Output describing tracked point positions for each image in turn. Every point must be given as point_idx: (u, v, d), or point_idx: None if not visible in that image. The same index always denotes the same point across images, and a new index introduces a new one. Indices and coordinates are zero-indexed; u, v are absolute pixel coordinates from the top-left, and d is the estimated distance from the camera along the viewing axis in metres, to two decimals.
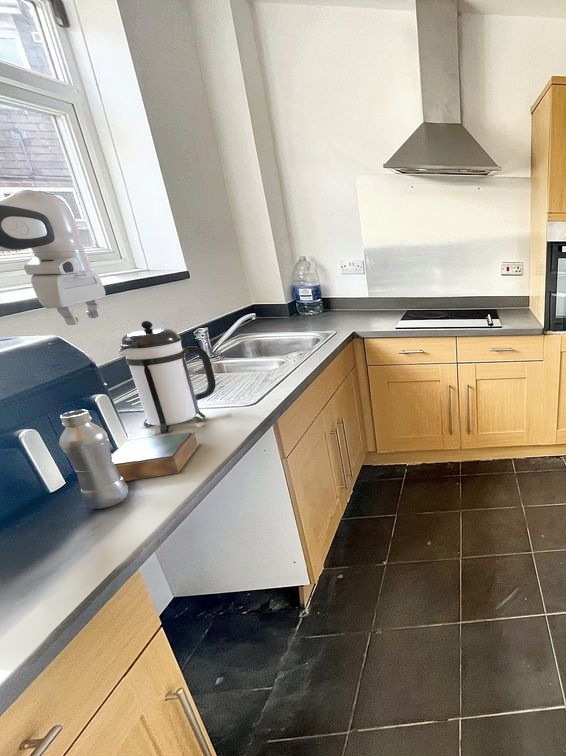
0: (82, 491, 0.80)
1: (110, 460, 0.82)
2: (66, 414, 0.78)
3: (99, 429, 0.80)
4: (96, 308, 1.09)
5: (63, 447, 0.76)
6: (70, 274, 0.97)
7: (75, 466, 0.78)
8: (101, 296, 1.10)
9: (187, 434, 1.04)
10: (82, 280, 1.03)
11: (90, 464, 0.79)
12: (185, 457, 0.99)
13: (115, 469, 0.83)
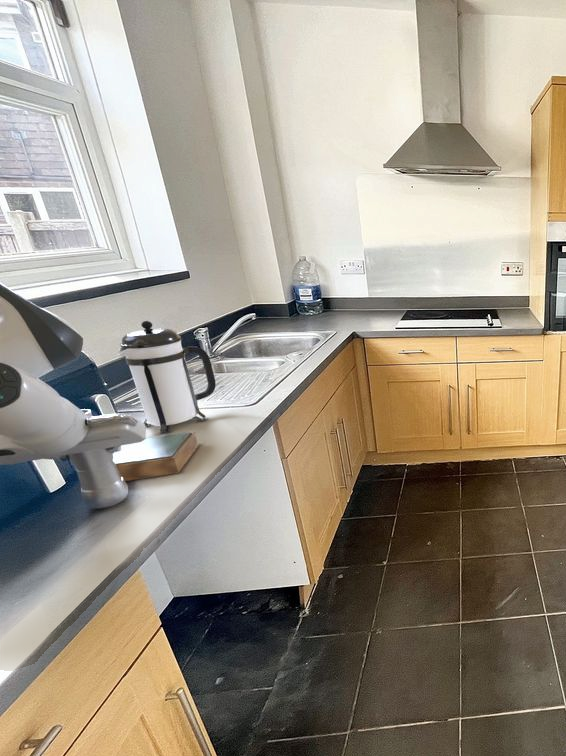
0: (82, 491, 0.80)
1: (111, 460, 0.82)
2: None
3: None
4: (114, 447, 0.81)
5: None
6: None
7: (76, 465, 0.78)
8: None
9: (187, 434, 1.04)
10: None
11: (91, 464, 0.79)
12: (185, 457, 0.99)
13: (116, 469, 0.83)
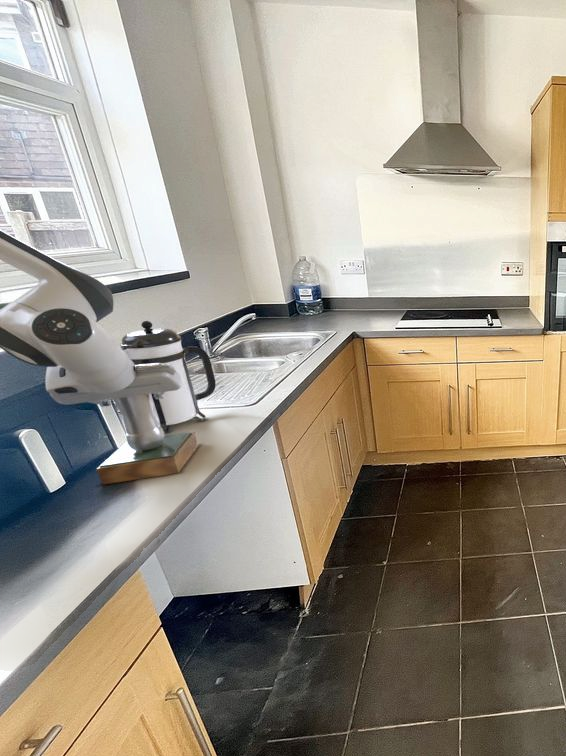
0: (128, 435, 0.94)
1: (151, 409, 0.95)
2: None
3: None
4: (159, 394, 0.94)
5: None
6: None
7: (123, 412, 0.92)
8: (166, 391, 0.93)
9: (187, 434, 1.04)
10: None
11: (135, 411, 0.92)
12: (185, 457, 0.99)
13: (155, 417, 0.96)
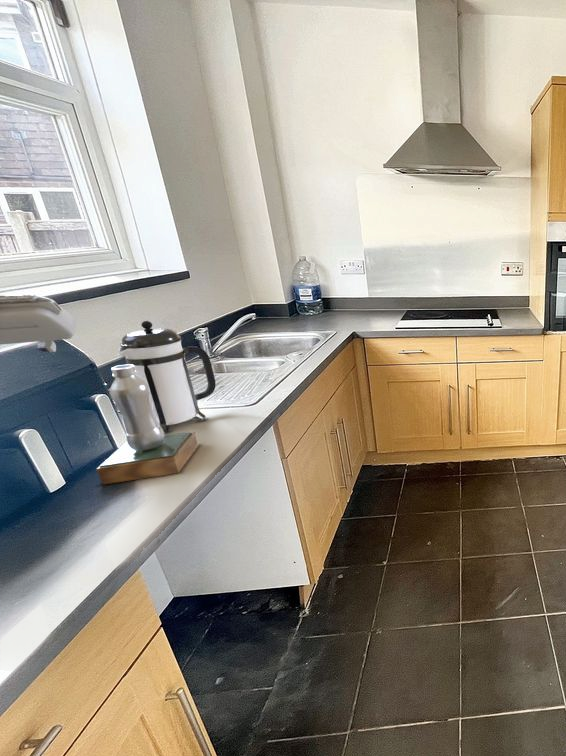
0: (128, 435, 0.94)
1: (151, 409, 0.95)
2: (115, 367, 0.91)
3: (142, 382, 0.93)
4: (45, 345, 0.68)
5: (113, 395, 0.90)
6: None
7: (123, 412, 0.92)
8: (51, 339, 0.66)
9: (187, 434, 1.04)
10: None
11: (135, 411, 0.92)
12: (185, 457, 0.99)
13: (155, 417, 0.96)
